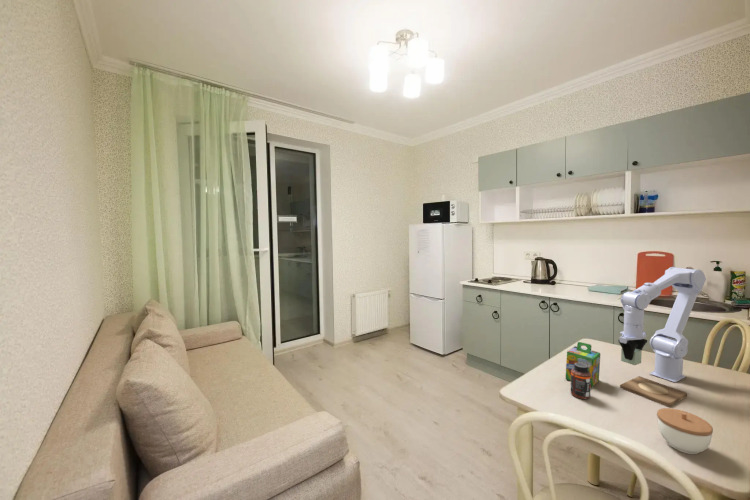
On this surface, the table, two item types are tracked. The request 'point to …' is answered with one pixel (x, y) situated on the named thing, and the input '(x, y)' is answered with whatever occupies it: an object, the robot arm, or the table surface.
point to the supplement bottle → (580, 381)
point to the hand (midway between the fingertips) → (632, 357)
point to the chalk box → (583, 361)
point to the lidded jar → (684, 430)
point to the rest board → (654, 391)
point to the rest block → (635, 359)
